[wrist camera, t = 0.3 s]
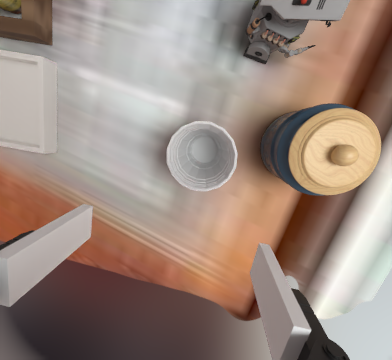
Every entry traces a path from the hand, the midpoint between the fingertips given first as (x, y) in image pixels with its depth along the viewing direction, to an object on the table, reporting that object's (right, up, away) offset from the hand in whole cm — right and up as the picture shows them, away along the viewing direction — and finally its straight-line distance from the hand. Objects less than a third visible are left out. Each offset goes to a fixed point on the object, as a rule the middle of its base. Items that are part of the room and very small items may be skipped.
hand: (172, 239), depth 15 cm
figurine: (+16, +30, +20) cm, 40 cm away
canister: (+21, +11, +24) cm, 34 cm away
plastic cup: (+4, +11, +26) cm, 28 cm away
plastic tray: (-35, +21, +27) cm, 49 cm away
